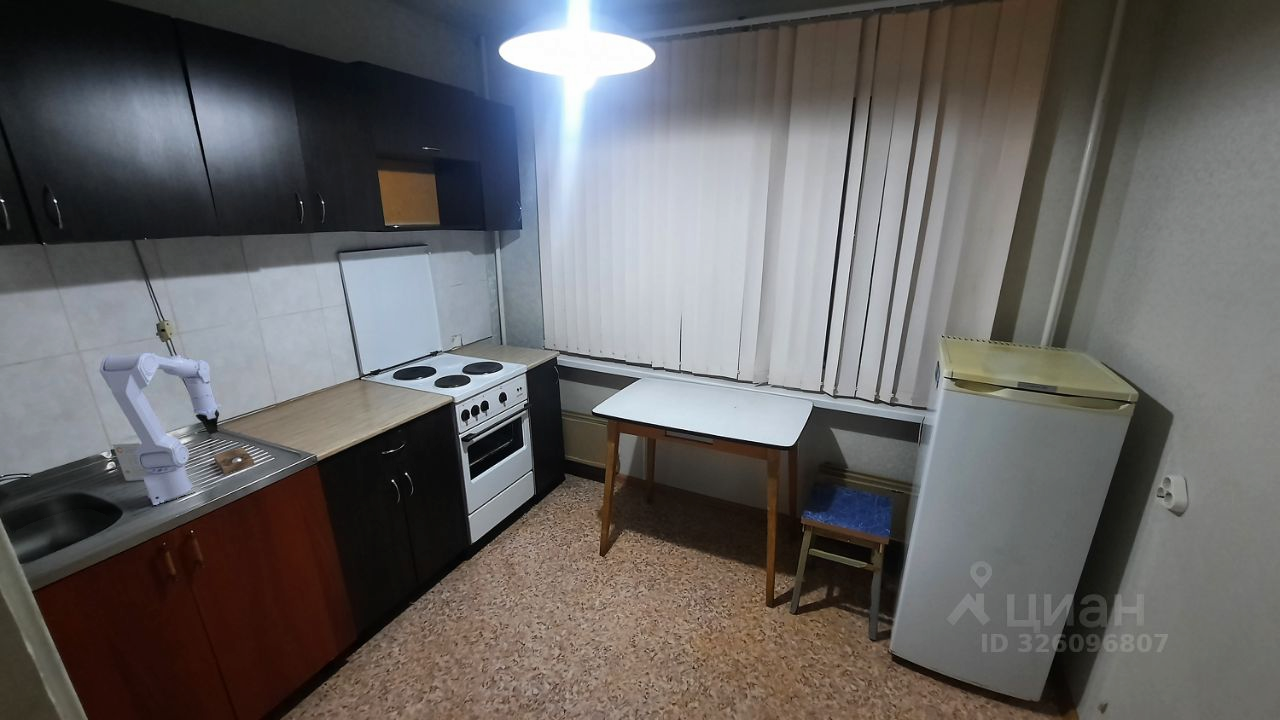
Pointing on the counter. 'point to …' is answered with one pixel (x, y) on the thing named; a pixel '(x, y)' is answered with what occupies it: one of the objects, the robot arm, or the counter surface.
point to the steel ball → (236, 460)
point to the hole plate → (227, 457)
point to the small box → (129, 458)
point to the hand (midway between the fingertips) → (213, 432)
